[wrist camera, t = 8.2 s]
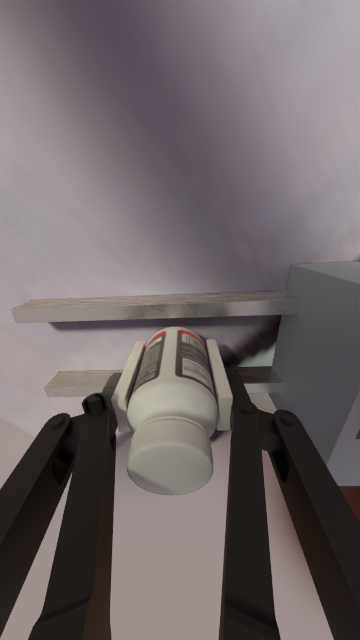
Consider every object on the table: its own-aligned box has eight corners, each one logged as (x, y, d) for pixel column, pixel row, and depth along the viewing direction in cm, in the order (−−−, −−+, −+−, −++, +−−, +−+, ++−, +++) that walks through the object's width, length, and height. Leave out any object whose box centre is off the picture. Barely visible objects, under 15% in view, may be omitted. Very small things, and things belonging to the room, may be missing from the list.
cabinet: (267, 391, 22) (317, 486, 14) (291, 264, 16) (401, 295, 8) (321, 390, 22) (405, 485, 14) (364, 261, 16) (553, 290, 8)
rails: (62, 379, 22) (47, 397, 19) (32, 299, 18) (10, 309, 16) (270, 375, 21) (280, 392, 19) (286, 290, 17) (301, 299, 15)
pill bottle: (155, 378, 19) (131, 508, 10) (139, 330, 17) (89, 441, 8) (210, 369, 18) (235, 498, 10) (200, 319, 16) (222, 424, 7)
